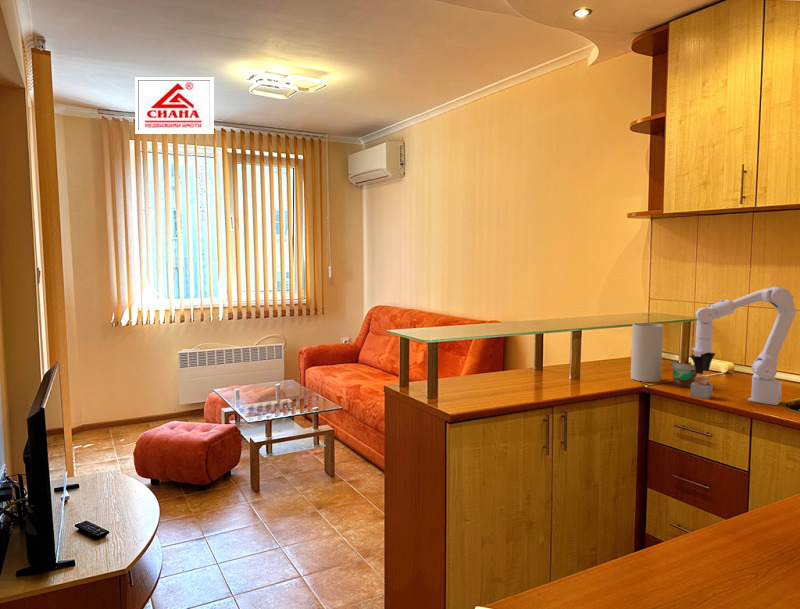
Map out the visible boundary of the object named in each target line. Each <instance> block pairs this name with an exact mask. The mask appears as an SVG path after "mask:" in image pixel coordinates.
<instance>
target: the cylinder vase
mask: <svg viewBox="0 0 800 609" xmlns="http://www.w3.org/2000/svg"><path fill="white" fill-rule="evenodd" d="M631 329H632V330H631V332H632V333H631V335H632V336H631V356H630V358H631V360H630V379H631V380H633V379H634V380H633V381H635V380H638V381H637V382H639V381H642V382H641V383H648V382H654V383H659V382H661V380H662V365H663V359H662V358H663V342H664V339H663V338H664V325H663V324H660V323H653V322H636V323H632V328H631Z"/></svg>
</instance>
